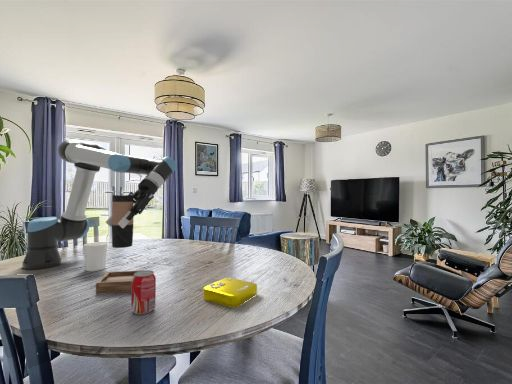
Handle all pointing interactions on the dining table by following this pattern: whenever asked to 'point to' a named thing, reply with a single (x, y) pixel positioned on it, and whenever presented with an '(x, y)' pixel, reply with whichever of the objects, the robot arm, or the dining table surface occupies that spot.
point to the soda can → (143, 292)
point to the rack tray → (115, 282)
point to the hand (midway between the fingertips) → (114, 225)
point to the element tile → (230, 292)
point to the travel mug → (119, 210)
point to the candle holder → (95, 256)
